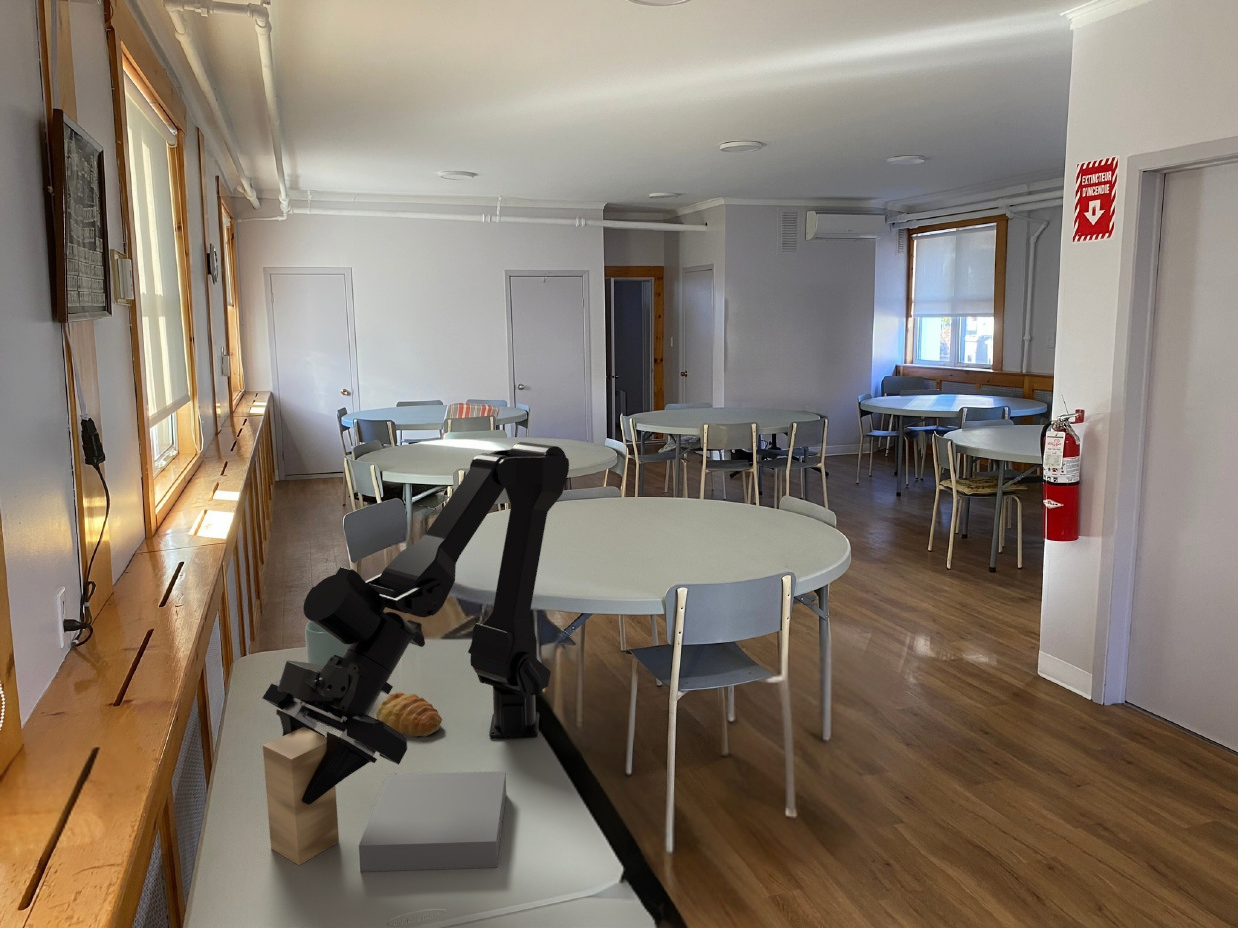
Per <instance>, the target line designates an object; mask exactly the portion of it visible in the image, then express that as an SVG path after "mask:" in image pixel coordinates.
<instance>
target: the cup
mask: <svg viewBox="0 0 1238 928" xmlns="http://www.w3.org/2000/svg"><path fill="white" fill-rule="evenodd" d="M304 636H305V649H306V659H307V663H313V664H318V665H324V666H325V665H326V664H327V662H328V661H329V659H330V658H331V657H333V656H334V655H337V656H340V657H343V655H344V654H345V652H346V650H347V649H348V647H349V645H350V644H343V643H341V642H339V641H338V640H337V639H335V638H334V637H332V636H331V635H330V634H328V633H327V632H326V631H324V630H323V629H321V628H320V627H319V626H317V625H316V624H314V623H313V622H312V621H310V620H308V622H307V623H306V624H305V629H304Z"/></svg>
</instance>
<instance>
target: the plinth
mask: <svg viewBox="0 0 1238 928" xmlns="http://www.w3.org/2000/svg"><path fill="white" fill-rule="evenodd" d="M506 775H507V773H506V770H503V771H502V770H499V771H498V770H497V771H494V770H493V771H465V772H464V771H463V772H462V771H461V772H460V771H459V772H429V773H426V772H425V773H424V772H423V773H420V772H419V773H394V774H393V773H391V774H385V776H384V779H383V781H382V784H381V787H380V789H379V792H378V794H377V797H376V799H375V803H374V805H373V807H372V809H371V813H370V816H369V818H368V821H367V823H366V826H365V829H364V830H363V833H362V836H361V839H360V841H359V844H358V852H359V854H358V855H359V869H360V870H359V871H360V873H362V872H363V873H364V872H366V873H367V872H370V873H371V872H394V871H397V872H398V871H424V870H425V871H426V870H427V871H429V870H457V869H459V870H461V869H489V868H490V869H491V868H498V861H499V852H500V845H501V839H502V838H501V836H502V831H501V830H503V823H502V821H503V822H504V815H503V814H505V808H504V806H506V800H505V798H506V799H507V777H506ZM500 838H501V839H500Z"/></svg>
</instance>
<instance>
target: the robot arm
mask: <svg viewBox="0 0 1238 928" xmlns="http://www.w3.org/2000/svg"><path fill="white" fill-rule="evenodd" d="M469 465H470V466H469V470H468V472H467V473H466V475H465V476H464V477H463V479H462V480H461V482H460V483H459V485H458V486H457V487H456V489H455V491H454V492H453V493H452V494H451V496H450V497H449V499H448V500H447V501H446V503H445V505H444V506H443V507H442V509H441V510H440V512H439V513H438V515H437V516H436V518H435V520H433V522H432V524H431V525H430V526H429V528H428V529H427V530H426V532H425V534H424V535H423V536H422V537H421V538H420V539H419V540H417V542H415V543H413V544H411V545H410V546H408V547H406V548H404V549H402V550H401V551H400V552H399V553H398V554H397V555H396V556H395V557H394V558H393V559H392V560H391V561H390V562H389V563H388V564H387V566H386V567H385V568H384V569H383V570H382V573H379V574H377V575H375V576H373V577H371V578H369V579H367V580H364V579H363V578H362V576H361V574H359V572H357V571H356V570H355V569H353V568H349V567H346V566H340V567H339V568H338V570H337V571H336V573H335V574H332V575H329V576H327V577H326V578H323V579H322V580H321V581H319V582H318V583H317V584H316V585H315V586H313V587H311V588H310V589H309V591H308V593H307V595H306V597H305V599H304V603H303V614H304V616H305V618H306V619H307V620H308V621H312V622H313V623H314V624H316V625H317V626H319V627H320V628H321V629H323V630H324V631H326V632H327V633H328V634H330V635H331V636H332V637H334V638H335V639H337V640H338V641H339V642H341V643H343V644H350V645H349V647H348V649H347V650H346V652H345V654H344V655H343V657H340V656H337V655H334V656H333V657H331V658H330V659H329V661H328V662H327V664H326V665H325V666H324V665H318V664H313V663H308V662H304V661H296V660H290V659H289V660H286V662H285V665H284V668H283V671H282V674H281V678H280V679H279V680H277V681H275V682H272V683H270V685H269V687H268V688H267V690H266V692H265V693H264V695H263V696H262V697H261V698H262V700H264V701H266V702H267V703H269V704H271V705H273V706H274V707H276V708H277V709H276V711H275V713H276V716H278V717H279V719H280V724H281V726H282V736H285V735H287V734H289V733H291V732H294V731H296V730H298V729H300V728H303V727H305V728H307V729H309V730H312V731H314V732H316V733H318V734H320V735H323V736H325V737H327V750H326V753H325V755H324V757H323V758H322V760H321V762H320V764H319V766H318V768H317V770H316V771H315V773H314V775H313V777H312V779H311V781H310V782H309V784H308V786H307V788H306V791H305V793H304V795H303V798H302V802H304V803H306V804H308V805H310V804H312V803H313V802H314V801H316V800H317V799H318V798H320V797H321V796H322V795H324V794H325V793H326V792H327V791H329V790H330V789H331V788H333V787H334V786H335V787H336V786H337V785H338V784H339V783H341V782H342V781H344V780H345V779H347V778H348V777H349V776H350V775H352V774H353V773H355V772H357V771H359V770H360V769H362V768H363V767H365V766H366V765H367V764H369V763H372V764H375V763H377V761H378V759H377V758H376V757H375V754H376V752H377V753H378V754H379V755H378V756H379V757H381V758H383V759H385V760H387V761H390V762H392V763H394V764H395V765H400V764H401V762H402V761H403V758H404V756H405V754H406V753H407V751H408V737H407V736H406V735H402V734H401V733H399V732H398V731H396V730H395V729H393V728H392V727H390V726H389V725H387V724H386V723H384V722H383V721H380V720H378V719H377V718H375V717H374V716H373V717H372V716H370V715H369V713H370V712H371V710H372V709H373V706H374V704H375V703H376V702H377V700H378V698H379V696H380V694H381V693H383V694H386V695H388V696H389V695H390V694H391V691H392V689H393V688H394V686H393V685H392V684H390V683H389V682H388V680H389V679H390V677H391V676H392V674H393V672H394V671H395V669H396V667H397V665H398V663H399V661H401V658H402V657H403V656H404V654H405V651H407V648H408V647H409V645H410V644H412V645H414V646H417V647H421V648H423V647H425V645H426V642H425V641H426V640H425V636H424V634H423V630H422V627H423V625H422V623H421V622H419V621H415V620H413V619H408V620H406V619H405V618H403V617H402V616H401V615H400V614H399V613H396V612H400V613H403V614H409V615H412V616H415V617H418V618H428V617H431V616H432V617H433V616H435V615H436V614H438V612H439V611H440V610H441V609H442V608H443V606H444V605H445V602H446V600H447V598H448V596H449V595H450V592H451V590H452V588H453V586H454V584H455V581H456V569H457V568H456V565H457V562H458V560H459V559H460V557H461V555H462V553H463V552H464V550H465V549H466V547H467V546H468V545H469V542H470V541H471V540H472V539H473V536H474V535H475V533H476V532H477V530H478V529H479V527H480V526H481V524H482V523H483V521H484V520H485V518H486V517H487V515H488V514H489V512H490V511H491V509H492V508H493V506H494V505H495V503H496V502H497V500H498V499H499V498H500V496H501V495H502V493H503V491H504V490H505V492H506V495H507V500H508V501H509V504H510V508H509V510H510V511H509V515H508V516H509V517H508V522H507V526H506V527H507V528H506V533H505V539H504V545H503V550H502V557H501V562H500V566H499V567H500V568H499V571H498V579H497V585H496V589H495V596H494V601H493V607H492V612H491V613H489V615H488V617H487V618H486V619H485V620H484V622H482V623H475V624H474V626H473V628H472V637H471V638H472V639H471V642H470V646H469V649H468V651H467V653H468V654H469V655H470V667H472V668H473V670H474V672H475V673H476V674H477V675H476V676H477V677H478V681H479V683H480V684H486V685H489V686H490V687H492V701H493V705H492V706H493V709H492V710H493V713H492V716H491V721H490V727H489V735H488V737H489V738H492V739H495V738H499V739H500V738H530V737H531V738H535V737H538V735H539V722H540V712H538V711H536V696H537V695H541V694H542V693H543V690H544V689H546V688H547V687H549V683H550V680H551V679H550V678H551V672H552V671H551V670H550V669H548V668H547V666H545V665H544V664H543V663H542V662H541V661H540V660H539V659H538V658H536V657H537V643H538V640H537V636H536V633H535V631H534V627H533V625H532V622H531V619H530V618H531V617H530V615H531V609H532V603H533V598H534V592H535V586H536V580H537V575H538V570H539V569H538V568H539V564H540V559H541V558H540V557H541V551H542V546H543V545H542V544H543V540H544V535H545V534H544V533H545V529H546V523H547V518H548V513H549V511H550V510H551V509H552V507H553V506H554V505H555V503H556V502H557V501H558V500H559V499H560V498H561V496H562V495H563V492H564V488H565V485H566V482H567V479H568V475H569V471H570V470H569V469H570V461H569V458H567V455H566V453H565V451H564V450H563V448H562V447H559V446H558V445H549V444H544V443H543V444H541V443H533V442H528V441H526V442H525V441H519V442H517V443H516V444H514V445H513V446H512V447H511V448H509V449H501V450H494V451H491V452H490V453H487V452H486V453H485V452H483V453H480V454H477V455H475V456H474V457H473V458H472V460H471V462H470V464H469ZM385 609H390V610H392V611H388V612H386V611H385V612H384V610H385ZM393 611H396V612H393ZM343 718H344V719H343ZM319 723H321V724H323V725H325V726H326V727H327V726H328V727H330V728H331V729H334V730H337V731H339V732H341V734H340V736H338V735H335V734H333V733H331V732H329V731H327V732H326V734H323V733H321V732H320V731H319V730H316V728H317V727H318V724H319ZM282 736H281V737H282Z"/></svg>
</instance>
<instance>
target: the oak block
mask: <svg viewBox="0 0 1238 928" xmlns="http://www.w3.org/2000/svg"><path fill="white" fill-rule="evenodd" d="M323 735H324V734H323ZM323 735H320V734H318V733H316V732H314V731H312V730H309V729H307V728H305V727H303V728H300V729H298V730H296V731H294V732H291V733H289V734H287V735H285V736H281V737H278V738H276V739H273V740H272V741H269V742H267V743H264V744H262V751H263V752H262V753H263V763H264V764H263V765H264V766H263V767H264V778H265V789H266V803H267V813H268V817H267V818H268V826H269V827H268V828H269V829H268V830H269V840H270V849H271V850H273V851H274V852H277V853H278V854H280V855H282V856H283V857H284V858H286V859H288V860H289V861H291V862H293V863H295V864H296V865H298V866H300V865H302V864H304V863H306V862H307V861H309V860H310V859H312V858H314V857H316V856H317V855H319V854H321V853H323V852H325V851H326V850H327V849H330V848H332V847H333V846H335V845H337V844H339V843H340V838H339V837H340V836H339V821H338V804H337V790H336V785H335V786H334V787H333V788H331V789H330V790H329V791H327V792H326V793H325V794H324V795H322V796H321V797H320V798H318V799H317V800H316V801H314V802H313V803H312V804H310V805H308V804H306V803H304V802H302V798H303V795H304V793H305V791H306V788H307V786H308V784H309V782H310V781H311V779H312V777H313V775H314V773H315V771H316V770H317V768H318V766H319V764H320V762H321V760H322V758H323V757H324V755H325V753H326V750H327V736H326V735H325V736H323Z"/></svg>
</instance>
